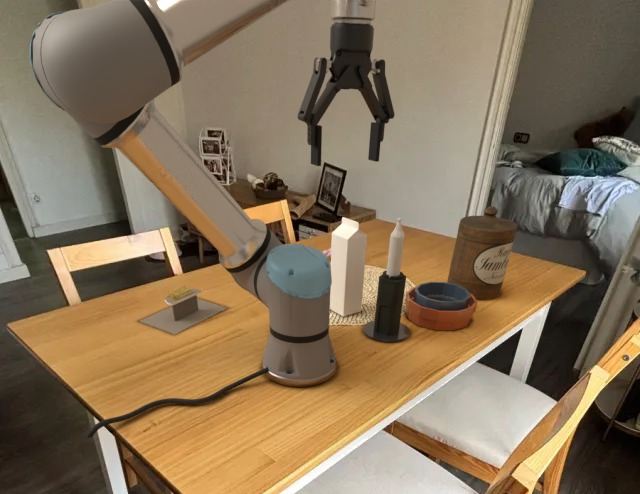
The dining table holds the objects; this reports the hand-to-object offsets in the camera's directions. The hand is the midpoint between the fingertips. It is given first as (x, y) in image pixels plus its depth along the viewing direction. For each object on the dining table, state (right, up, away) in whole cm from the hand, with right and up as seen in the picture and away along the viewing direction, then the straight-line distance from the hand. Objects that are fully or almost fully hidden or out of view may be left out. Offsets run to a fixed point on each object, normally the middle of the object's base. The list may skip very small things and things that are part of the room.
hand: (345, 162), depth 95 cm
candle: (+11, -30, +18) cm, 36 cm away
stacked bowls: (+25, -24, +26) cm, 44 cm away
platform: (-39, -25, +23) cm, 52 cm away
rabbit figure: (0, +2, +59) cm, 59 cm away
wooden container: (+38, -14, +41) cm, 58 cm away
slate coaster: (+11, -30, +18) cm, 37 cm away
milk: (+1, -23, +28) cm, 36 cm away
